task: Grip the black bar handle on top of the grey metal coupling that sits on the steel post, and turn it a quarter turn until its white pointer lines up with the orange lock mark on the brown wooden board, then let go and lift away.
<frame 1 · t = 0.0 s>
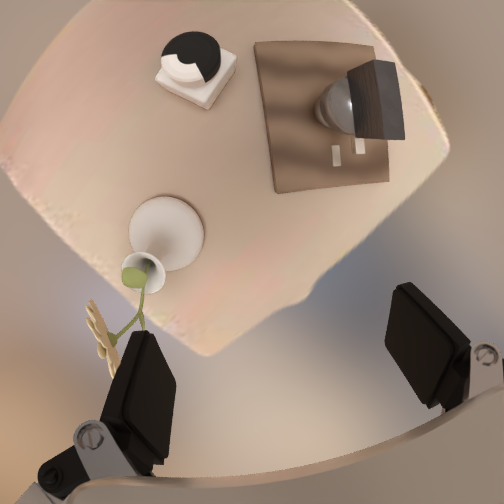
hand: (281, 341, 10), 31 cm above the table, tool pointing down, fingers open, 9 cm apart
medicine bottle: (200, 79, 32), on the table
flower in vase: (166, 236, 40), on the table
coupling: (366, 112, 24), point 12 cm above the table, hinge at 0.0°
brown wooden board: (325, 112, 35), on the table
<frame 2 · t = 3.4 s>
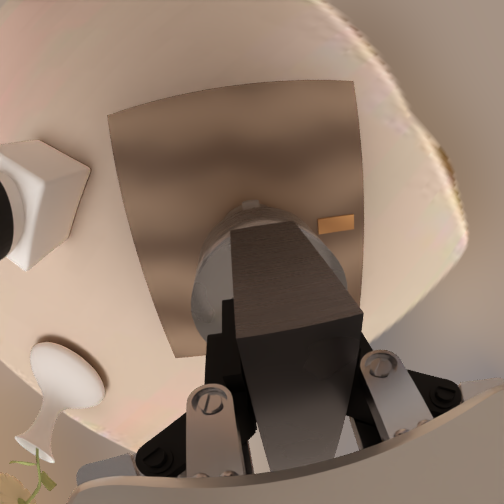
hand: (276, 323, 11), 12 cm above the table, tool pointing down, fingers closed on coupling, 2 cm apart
medicine bottle: (52, 188, 19), on the table
flower in vase: (71, 370, 27), on the table
coupling: (277, 339, 11), point 12 cm above the table, hinge at 0.0°, touching gripper
brown wooden board: (250, 227, 22), on the table
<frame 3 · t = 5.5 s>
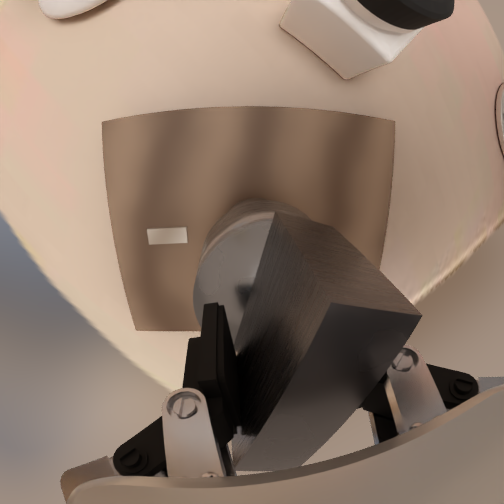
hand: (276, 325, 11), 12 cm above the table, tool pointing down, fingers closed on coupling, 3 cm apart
medicine bottle: (335, 30, 16), on the table
coupling: (272, 334, 11), point 12 cm above the table, hinge at 74.5°, touching gripper
brown wooden board: (253, 223, 22), on the table
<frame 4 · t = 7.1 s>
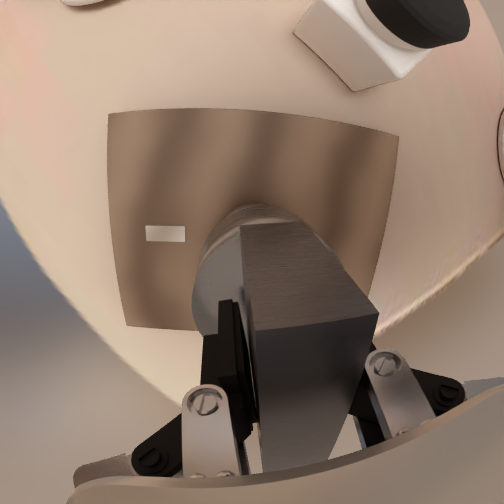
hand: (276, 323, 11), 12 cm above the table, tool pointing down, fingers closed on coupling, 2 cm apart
medicine bottle: (348, 41, 16), on the table
coupling: (276, 339, 11), point 12 cm above the table, hinge at 96.8°, touching gripper
brown wooden board: (251, 227, 22), on the table
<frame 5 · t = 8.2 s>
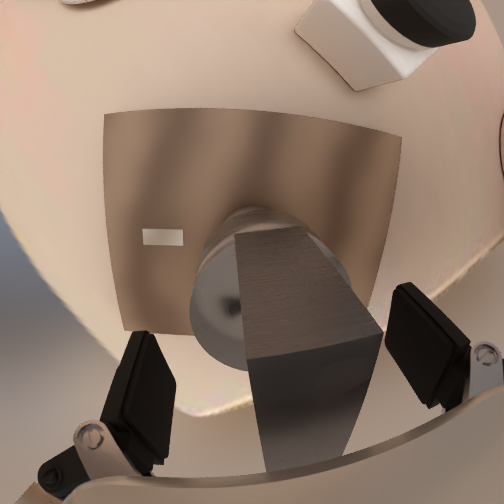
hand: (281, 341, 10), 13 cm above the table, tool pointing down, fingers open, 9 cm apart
medicine bottle: (350, 40, 16), on the table
coupling: (279, 349, 11), point 12 cm above the table, hinge at 99.5°
brown wooden board: (250, 230, 22), on the table
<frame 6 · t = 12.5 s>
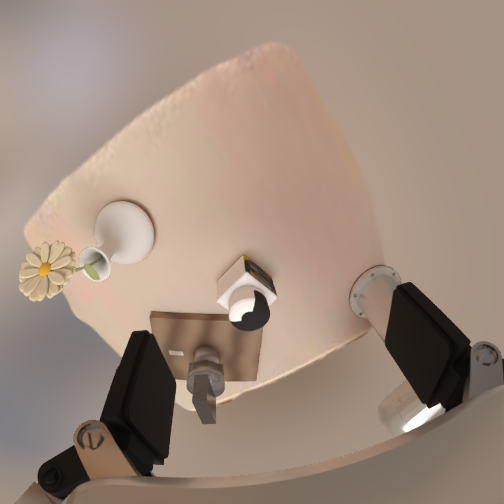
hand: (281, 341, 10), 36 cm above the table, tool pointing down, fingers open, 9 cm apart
medicine bottle: (244, 278, 50), on the table
flower in vase: (122, 228, 44), on the table
coupling: (206, 394, 45), point 12 cm above the table, hinge at 99.5°
brown wooden board: (207, 347, 55), on the table
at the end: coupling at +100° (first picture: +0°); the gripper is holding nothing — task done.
